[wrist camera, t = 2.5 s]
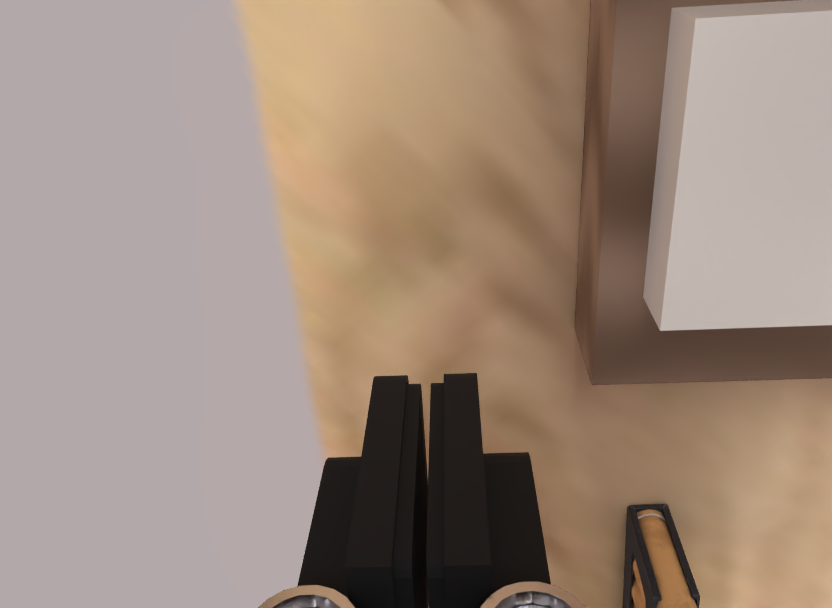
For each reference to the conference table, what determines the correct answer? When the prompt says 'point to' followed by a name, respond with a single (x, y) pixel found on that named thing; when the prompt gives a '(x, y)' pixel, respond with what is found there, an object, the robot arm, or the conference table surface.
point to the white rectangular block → (744, 169)
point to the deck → (630, 225)
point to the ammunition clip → (656, 562)
